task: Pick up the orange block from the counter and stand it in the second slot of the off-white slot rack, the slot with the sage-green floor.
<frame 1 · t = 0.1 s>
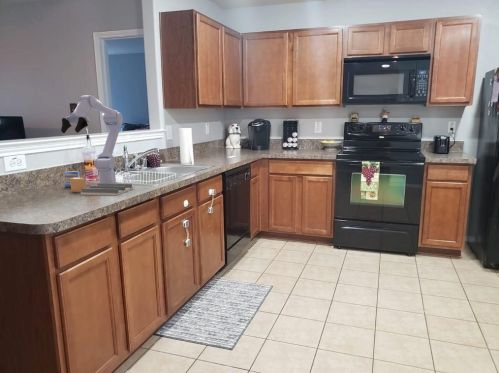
hand: (69, 131, 187), 32 cm above the counter, tool tilted 50°, fingers open, 7 cm apart
orange block: (78, 191, 205), on the counter
slot rack: (107, 191, 201), on the counter
medicine box: (72, 186, 219), on the counter
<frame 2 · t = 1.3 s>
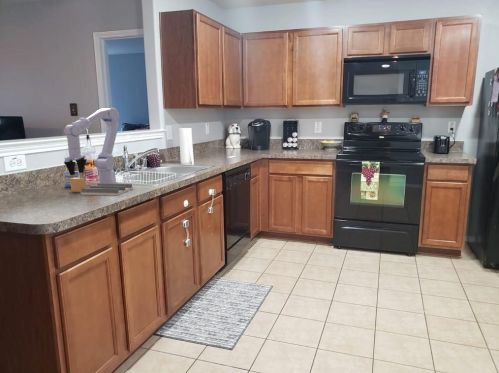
hand: (76, 173, 203), 9 cm above the counter, tool pointing down, fingers open, 7 cm apart
nothing on the counter moved.
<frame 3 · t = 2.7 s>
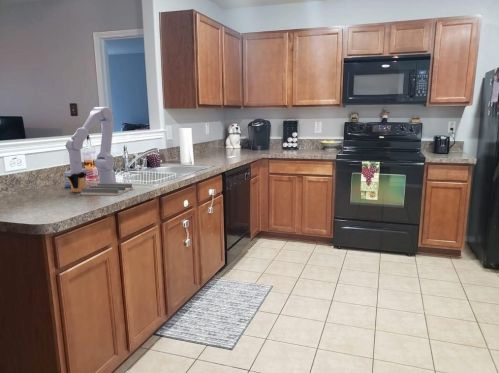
hand: (78, 187, 204), 2 cm above the counter, tool pointing down, fingers closed on orange block, 4 cm apart
orange block: (78, 191, 205), on the counter, touching gripper
everything else where it was.
when the fingers open (4 cm above the counter, at t = 6.3 s): orange block stays where it is, resting on slot rack.
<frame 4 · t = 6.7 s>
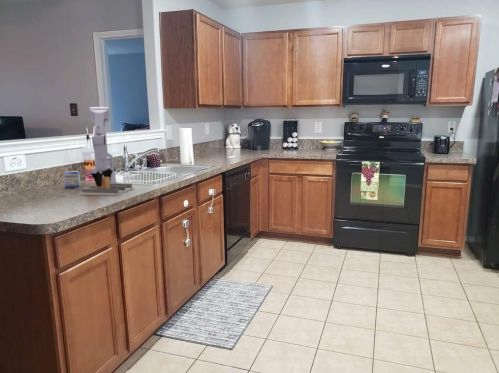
hand: (103, 185, 197), 4 cm above the counter, tool pointing down, fingers open, 7 cm apart
orange block: (103, 190, 198), point 1 cm above the counter, touching slot rack
everything else where it was.
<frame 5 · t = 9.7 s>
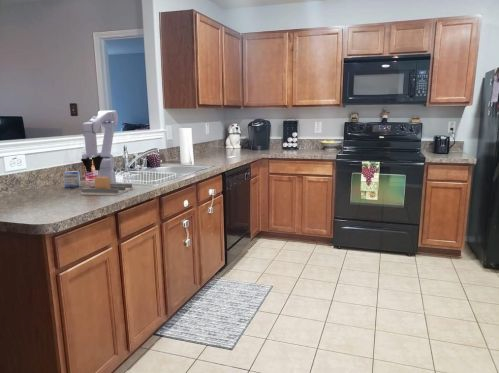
hand: (93, 171, 204), 10 cm above the counter, tool pointing down, fingers open, 7 cm apart
nothing on the counter moved.
at the end: orange block inside the target area on the slot rack (0.4 cm from its centre), point 1.2 cm above the slot rack's base; orange block tilted 0°; the gripper is holding nothing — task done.
